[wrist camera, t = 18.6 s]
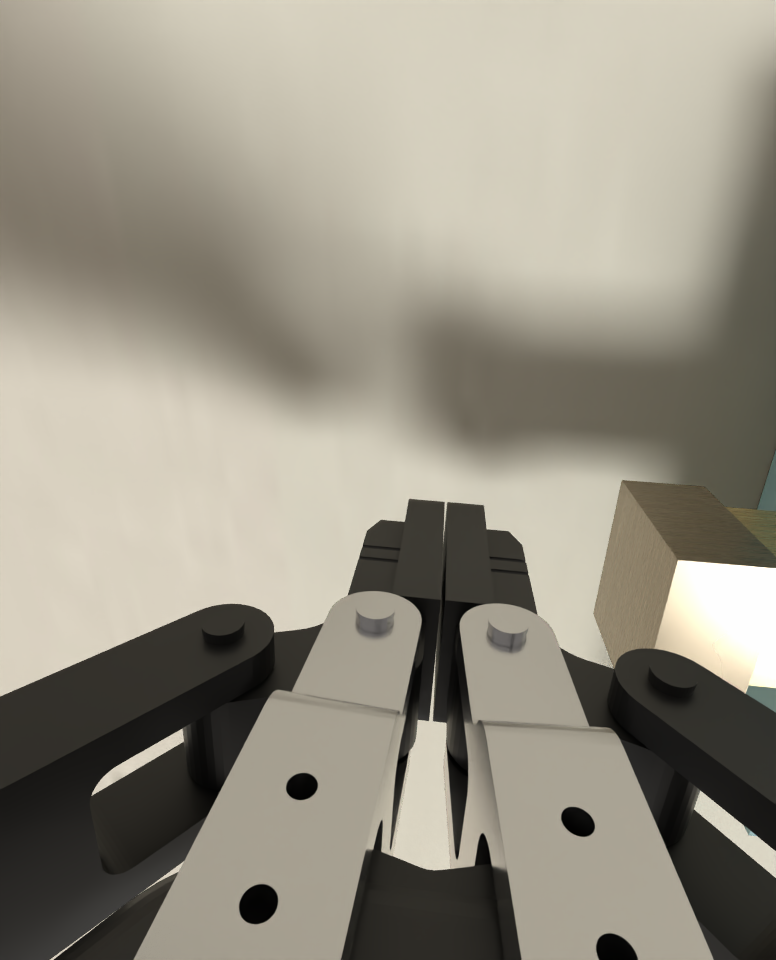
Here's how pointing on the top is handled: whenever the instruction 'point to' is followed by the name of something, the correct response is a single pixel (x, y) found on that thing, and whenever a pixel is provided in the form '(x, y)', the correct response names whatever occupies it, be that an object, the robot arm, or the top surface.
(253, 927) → the robot arm
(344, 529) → the top surface
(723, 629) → the block hammer
